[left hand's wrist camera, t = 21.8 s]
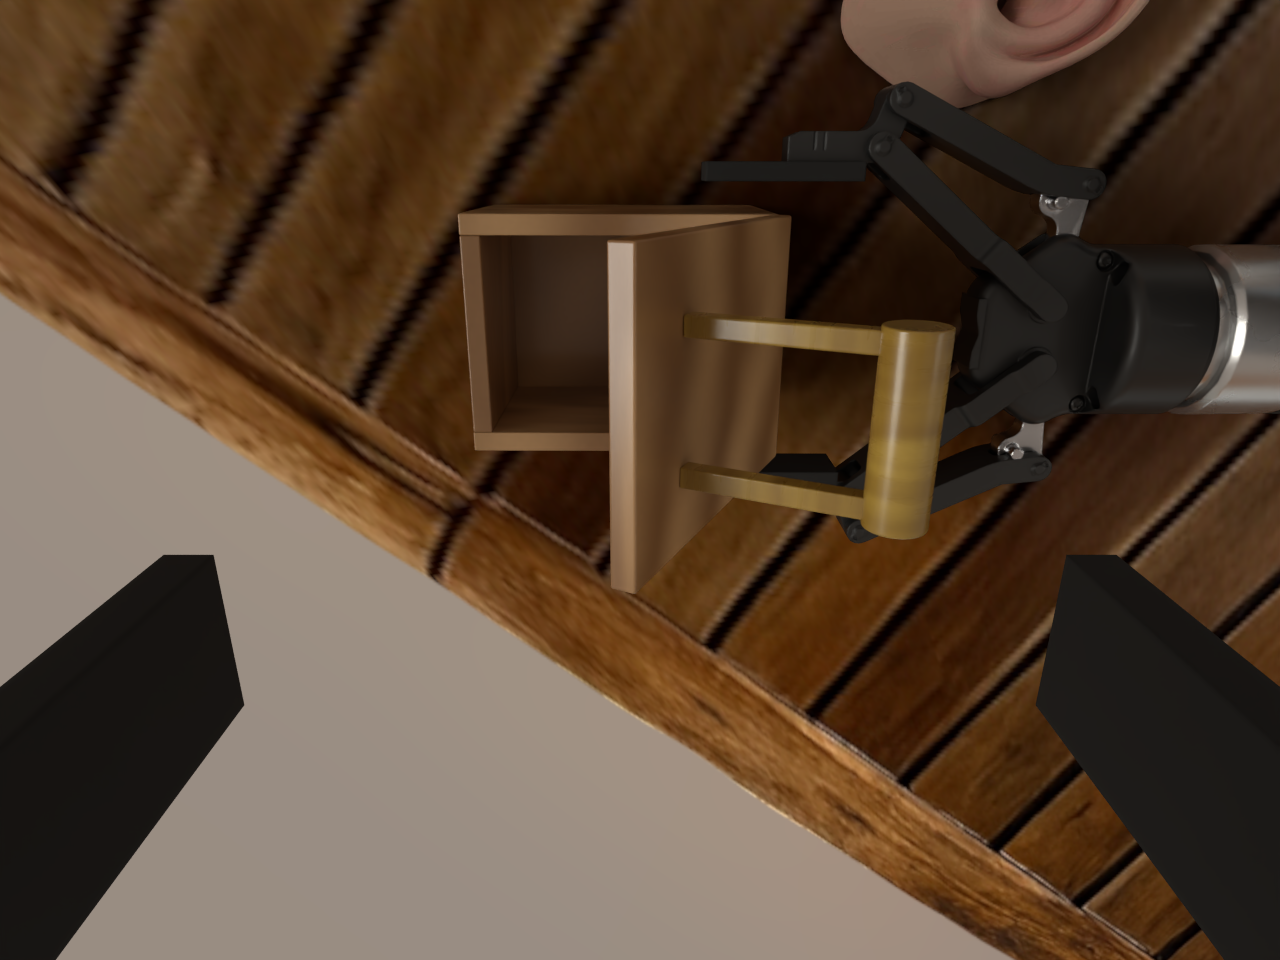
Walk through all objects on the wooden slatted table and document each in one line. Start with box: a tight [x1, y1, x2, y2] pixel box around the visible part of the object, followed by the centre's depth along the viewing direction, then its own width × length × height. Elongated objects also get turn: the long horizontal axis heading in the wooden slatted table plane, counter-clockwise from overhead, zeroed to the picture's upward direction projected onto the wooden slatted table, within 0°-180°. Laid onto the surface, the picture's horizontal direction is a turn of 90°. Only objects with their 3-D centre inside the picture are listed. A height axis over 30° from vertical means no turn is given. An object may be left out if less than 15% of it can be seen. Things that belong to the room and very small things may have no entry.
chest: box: [458, 204, 778, 451], centre depth 39 cm, size 13×10×9 cm
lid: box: [607, 215, 956, 594], centre depth 27 cm, size 14×10×8 cm
